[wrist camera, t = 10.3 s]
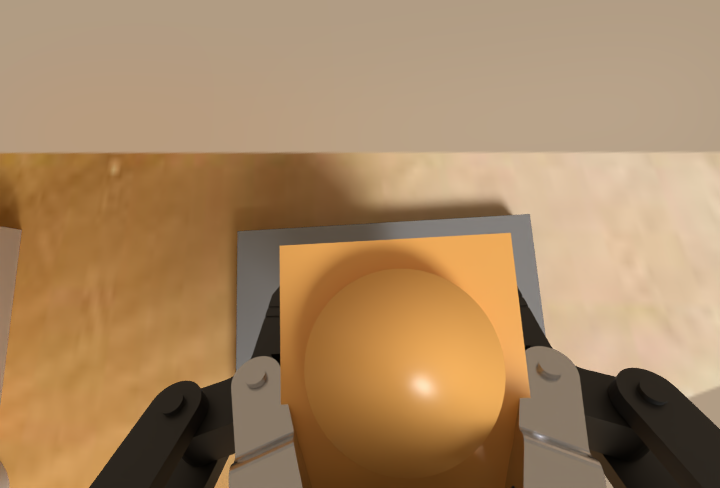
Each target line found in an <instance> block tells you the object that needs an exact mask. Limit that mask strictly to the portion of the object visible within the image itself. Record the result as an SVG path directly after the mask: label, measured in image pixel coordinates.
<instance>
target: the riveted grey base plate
mask: <svg viewBox="0 0 720 488" xmlns="http://www.w3.org/2000/svg"><path fill="white" fill-rule="evenodd" d="M498 233H511V239H512V247H513V256H514V264H515V272H516V281H517V286H518V288H519V290H520V292H521V294H522V297H523V298H524V299H525V301H526V302H527V304H528V308H530V310H531V311H532V313H533V315H534V317H535V319H536V320H537V322H538V324H539V326H540V328H541V329H542V331H543V333H544V335H545V328H544V320H543V313H542V305H541V297H540V289H539V282H538V274H537V266H536V258H535V251H534V243H533V235H532V228H531V220H530V214H523V215H506V216H489V217H472V218H455V219H438V220H421V221H404V222H387V223H370V224H353V225H336V226H319V227H302V228H285V229H268V230H251V231H238V242H237V338H236V371H237V370H238V369H239V368H240V367H241V366H242V365H243V364H244V363H245V362H247V361H249V360H250V359H251V357H252V354H253V351H254V348H255V345H256V342H257V339H258V336H259V333H260V330H261V327H262V324H263V321H264V319H265V315H266V312H267V309H268V308H269V307H268V306H269V303H270V300H271V297H272V294H273V293H274V292H275V291H276V290H277V288H278V287H279V286H280V246H285V245H302V244H320V243H338V242H356V241H374V240H391V239H409V238H427V237H445V236H462V235H480V234H498ZM545 337H546V336H545Z"/></svg>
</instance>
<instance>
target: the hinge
mask: <svg viewBox="0 0 720 488" xmlns="http://www.w3.org/2000/svg"><path fill="white" fill-rule="evenodd" d="M21 232H22V230H19V229H14V228H8V227H0V403H1V395H2V386H3V378H4V370H5V362H6V354H7V346H8V338H9V330H10V322H11V313H12V305H13V297H14V289H15V281H16V273H17V265H18V257H19V248H20V240H21Z"/></svg>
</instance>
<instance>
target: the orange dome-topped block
mask: <svg viewBox="0 0 720 488" xmlns="http://www.w3.org/2000/svg"><path fill="white" fill-rule="evenodd" d="M280 371H281V405H284V404H288V405H289V409H290V412H291V416H292V419H293V423H294V426H295V430H296V433H297V437H298V441H299V445H300V448H301V452H302V455H303V457H304V461H305V464H306V468H307V471H308V475H309V478H310V482H311V485H312V488H505V483H506V477H507V471H508V465H509V459H510V453H511V450H512V446H513V440H514V429H515V423H516V417H517V411H518V406H519V400H520V398H531V396H530V388H529V380H528V372H527V363H526V355H525V347H524V339H523V330H522V322H521V314H520V305H519V297H518V289H517V281H516V272H515V264H514V256H513V247H512V239H511V233H498V234H480V235H462V236H445V237H427V238H409V239H391V240H374V241H356V242H338V243H320V244H302V245H285V246H280Z"/></svg>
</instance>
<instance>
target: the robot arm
mask: <svg viewBox="0 0 720 488" xmlns="http://www.w3.org/2000/svg"><path fill="white" fill-rule="evenodd" d="M517 289H518V297H519V305H520V314H521V322H522V330H523V339H524V347H525V355H526V363H527V372H528V380H529V388H530V396H531V398H520V400H519V406H518V411H517V417H516V423H515V429H514V440H513V446H512V450H511V453H510V459H509V465H508V471H507V477H506V483H505V488H606V481H605V476H606V477H607V479H608V480H609V482H610V483H611V484H612V486H613V487H614V488H720V429H719V428H718V427H717V426H716V425H715V424H714V423H713V422H712V421H711V420H710V419H709V418H708V417H706V416H705V415H704V414H703V413H702V412H701V411H700V410H699V409H698V408H697V407H696V406H695V405H694V404H692V402H691V401H690V400H689V399H688V398H687V397H686V396H684V395H683V394H682V393H681V392H680V391H679V390H678V389H677V388H676V387H675V386H674V385H673V384H671V383H670V382H669V381H667V380H666V379H664V378H663V377H661V376H659V375H657V374H655V373H653V372H650V371H648V370H644V369H639V368H627V369H624V370H622V371H620V372H619V374H618V375H617V376H616V377H614V376H610V375H606V374H602V373H598V372H594V371H589V370H586V369H582V368H579V367H577V366H575V365H574V364H573V362H572V361H571V360H570V359H569V358H568V357H566V356H565V355H564V354H562V353H560V352H559V351H557V350H554V349H553V348H552V347H551V345H550V344H549V342H548V340H547V338H546V337H545V335H544V333H543V331H542V329H541V328H540V326H539V324H538V322H537V320H536V319H535V317H534V315H533V313H532V311H531V310H530V308H528V304H527V302H526V301H525V299H524V298H523V297H522V294H521V292H520V290H519V288H518V286H517ZM268 307H269V308H268V309H267V312H266V315H265V319H264V321H263V324H262V327H261V330H260V333H259V336H258V339H257V342H256V345H255V348H254V351H253V354H252V357H251V359H250V360H249V361H247V362H245V363H244V364H243V365H242V366H241V367H240V368H239V369H238V370H237V371H236V373H235V375H234V376H233V377H231V378H229V379H227V380H225V381H222V382H219V383H216V384H213V385H210V386H207V387H204V388H200V387H199V386H198V385H197V384H196V383H194V382H192V381H181V382H177V383H175V384H172V385H171V386H169V387H167V388H166V389H164V390H163V391H162V392H160V393H159V394H158V395H157V396H156V397H155V399H154V400H153V401H152V403H151V404H150V405H149V407H148V408H147V409H146V411H145V412H144V413H143V415H142V416H141V418H140V419H139V420H138V422H137V423H136V424H135V426H134V427H133V429H132V430H131V431H130V433H129V434H128V435H127V437H126V438H125V439H124V441H123V442H122V444H121V445H120V446H119V448H118V449H117V450H116V452H115V453H114V454H113V456H112V457H111V459H110V460H109V461H108V463H107V464H106V465H105V467H104V468H103V470H102V471H101V472H100V474H99V475H98V476H97V478H96V479H95V480H94V482H93V483H92V485H91V486H90V487H89V488H214V487H215V485H216V482H217V480H218V478H219V476H220V474H221V472H222V470H223V468H224V465H225V463H226V461H227V459H228V457H229V455H231V454H234V453H235V461H234V463H233V464H232V465H231V467H230V470H229V488H312V485H311V482H310V478H309V475H308V471H307V468H306V464H305V461H304V457H303V455H302V452H301V448H300V445H299V441H298V437H297V433H296V430H295V426H294V423H293V419H292V416H291V412H290V409H289V405H288V404H284V405H281V371H280V286H279V287H278V288H277V290H276V291H275V292H274V293H273V294H272V297H271V300H270V303H269V306H268ZM604 474H605V476H604Z"/></svg>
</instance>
